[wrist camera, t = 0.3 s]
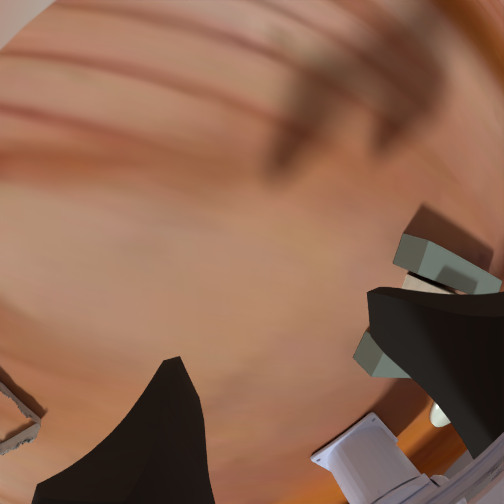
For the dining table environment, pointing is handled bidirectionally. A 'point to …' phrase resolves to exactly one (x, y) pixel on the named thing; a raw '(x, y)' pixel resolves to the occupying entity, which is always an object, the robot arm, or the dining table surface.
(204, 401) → the dining table surface
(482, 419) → the robot arm
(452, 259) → the slot holder
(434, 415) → the pale green oval piece
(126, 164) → the dining table surface
